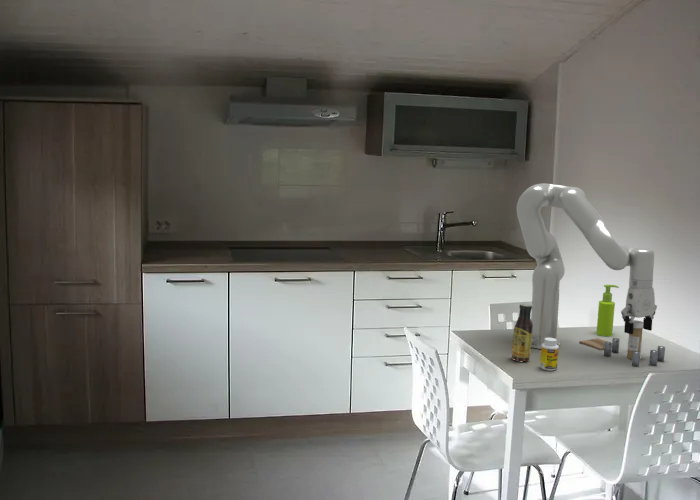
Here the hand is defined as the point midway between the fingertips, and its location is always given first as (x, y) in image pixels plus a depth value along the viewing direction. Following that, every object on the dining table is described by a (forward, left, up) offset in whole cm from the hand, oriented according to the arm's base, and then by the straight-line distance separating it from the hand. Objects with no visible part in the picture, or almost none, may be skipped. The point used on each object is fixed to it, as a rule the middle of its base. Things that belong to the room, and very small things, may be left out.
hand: (638, 331), depth 245 cm
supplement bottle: (-36, +6, -10) cm, 38 cm away
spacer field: (0, +1, -10) cm, 10 cm away
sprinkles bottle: (0, +1, -10) cm, 10 cm away
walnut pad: (+2, +18, -10) cm, 20 cm away
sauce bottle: (-38, +17, -10) cm, 43 cm away
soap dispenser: (+16, +27, -10) cm, 32 cm away
